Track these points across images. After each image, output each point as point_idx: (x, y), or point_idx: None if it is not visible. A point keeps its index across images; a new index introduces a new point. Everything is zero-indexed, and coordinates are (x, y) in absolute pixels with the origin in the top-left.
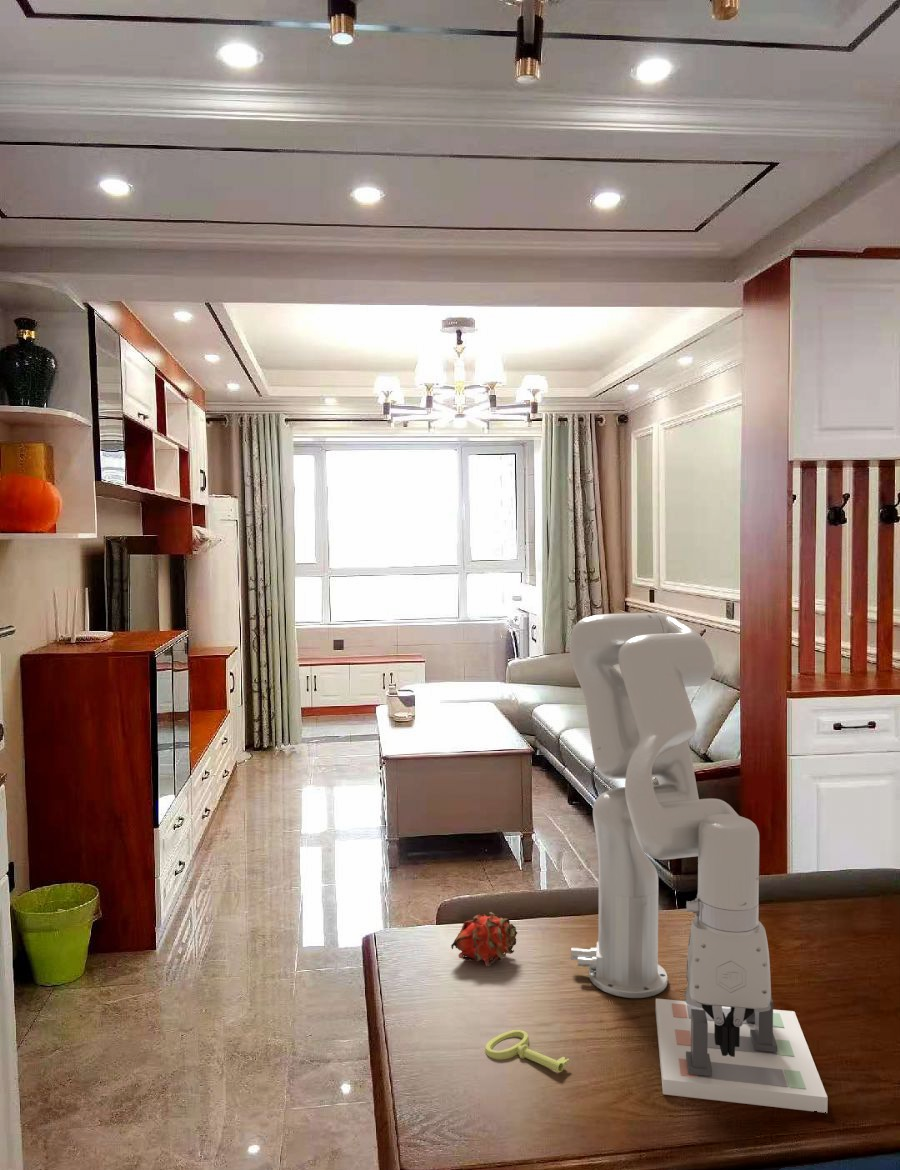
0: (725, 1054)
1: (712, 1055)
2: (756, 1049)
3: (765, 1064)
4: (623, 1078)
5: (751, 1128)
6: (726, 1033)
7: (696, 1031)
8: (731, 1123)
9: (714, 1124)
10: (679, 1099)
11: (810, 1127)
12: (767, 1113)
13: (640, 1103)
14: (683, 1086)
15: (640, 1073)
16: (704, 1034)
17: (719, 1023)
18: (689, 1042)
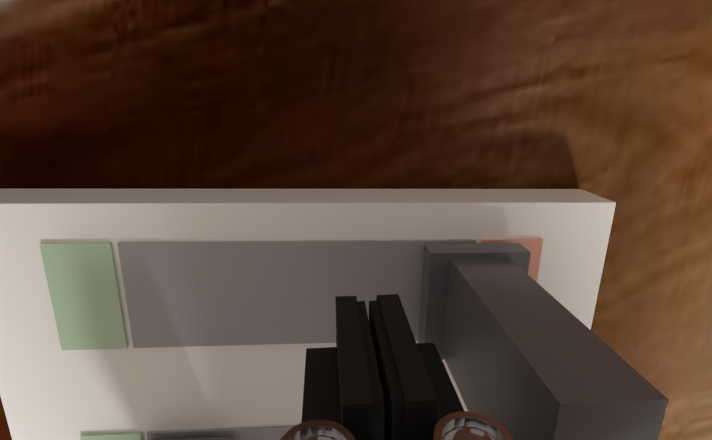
0: (383, 295)
1: None
2: (223, 438)
3: (198, 367)
4: (690, 250)
5: (294, 45)
6: (398, 369)
7: (596, 355)
8: (365, 63)
9: (429, 46)
10: (527, 171)
11: (68, 91)
12: (224, 147)
13: (668, 124)
14: (529, 196)
15: (627, 286)
16: (537, 347)
17: (459, 428)
18: None
